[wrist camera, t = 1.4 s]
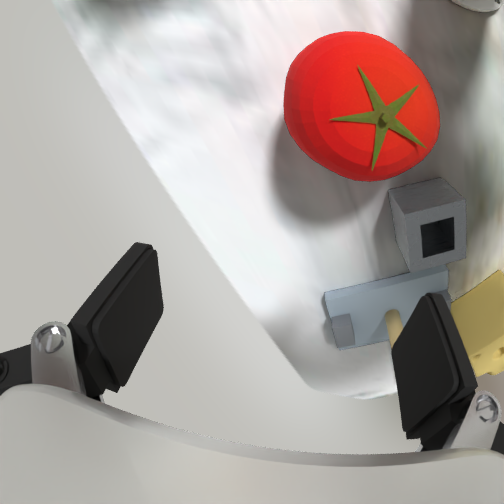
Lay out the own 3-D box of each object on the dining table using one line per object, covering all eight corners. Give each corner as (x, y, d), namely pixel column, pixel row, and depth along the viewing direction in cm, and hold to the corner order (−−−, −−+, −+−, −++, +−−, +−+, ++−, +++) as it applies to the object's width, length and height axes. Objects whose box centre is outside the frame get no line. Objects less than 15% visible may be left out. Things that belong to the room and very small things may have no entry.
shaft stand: (444, 263, 31) (464, 300, 25) (441, 318, 35) (455, 354, 29) (324, 292, 36) (325, 334, 30) (338, 342, 40) (340, 381, 35)
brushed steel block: (440, 177, 26) (465, 199, 21) (445, 229, 28) (465, 257, 23) (387, 190, 28) (404, 214, 23) (396, 241, 30) (410, 273, 26)
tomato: (263, 106, 25) (232, 123, 15) (332, 24, 20) (354, -18, 9) (353, 178, 28) (381, 243, 17) (422, 104, 22) (494, 126, 11)
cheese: (460, 339, 37) (477, 389, 29) (443, 302, 34) (465, 358, 26) (510, 306, 32) (534, 352, 24) (500, 263, 29) (534, 312, 21)
